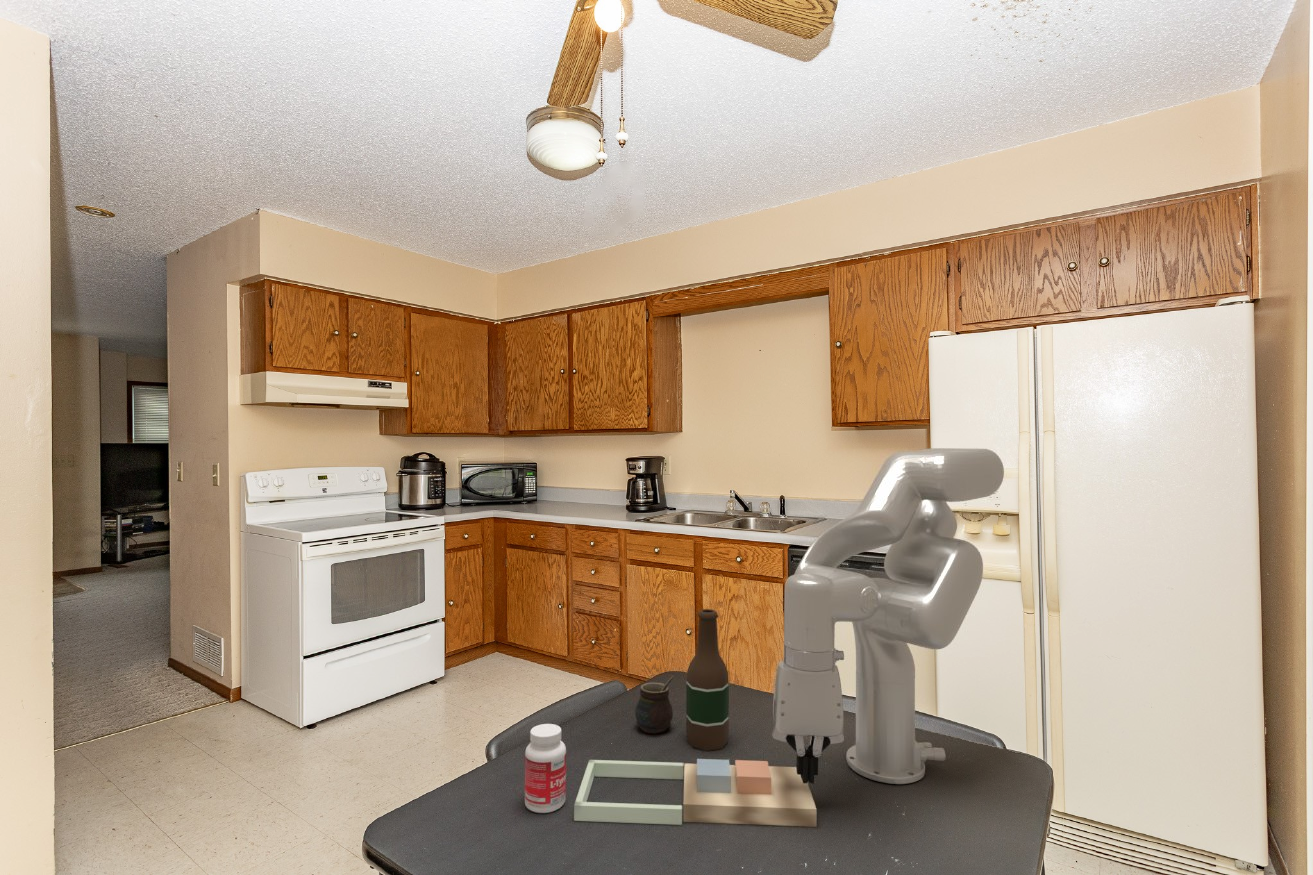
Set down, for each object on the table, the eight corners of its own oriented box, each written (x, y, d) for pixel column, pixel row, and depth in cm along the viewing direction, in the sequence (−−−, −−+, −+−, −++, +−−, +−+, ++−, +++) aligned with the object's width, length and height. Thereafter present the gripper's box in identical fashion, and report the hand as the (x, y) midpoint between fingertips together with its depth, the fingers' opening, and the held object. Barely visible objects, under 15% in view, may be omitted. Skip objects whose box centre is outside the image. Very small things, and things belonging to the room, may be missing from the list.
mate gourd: (628, 725, 125) (629, 673, 125) (662, 718, 129) (663, 667, 129) (645, 740, 119) (646, 685, 119) (680, 732, 122) (681, 679, 123)
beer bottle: (728, 733, 122) (728, 606, 122) (728, 752, 114) (729, 616, 114) (687, 731, 123) (687, 604, 123) (684, 750, 115) (685, 615, 115)
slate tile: (728, 775, 101) (728, 759, 101) (730, 792, 96) (730, 776, 96) (696, 774, 101) (697, 758, 102) (697, 791, 96) (697, 774, 97)
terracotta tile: (767, 777, 101) (767, 761, 101) (771, 794, 96) (771, 777, 96) (735, 776, 101) (735, 760, 101) (737, 793, 96) (737, 776, 96)
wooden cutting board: (802, 782, 104) (802, 767, 104) (816, 826, 92) (816, 809, 92) (684, 778, 105) (684, 763, 105) (683, 821, 93) (683, 804, 93)
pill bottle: (554, 817, 94) (554, 741, 94) (517, 810, 96) (517, 735, 96) (572, 795, 100) (573, 724, 100) (537, 789, 102) (537, 718, 102)
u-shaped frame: (683, 776, 106) (683, 762, 106) (681, 824, 92) (681, 809, 92) (589, 772, 107) (589, 759, 107) (574, 820, 93) (574, 805, 93)
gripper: (852, 651, 102) (850, 769, 101) (756, 648, 102) (755, 764, 102) (865, 667, 94) (863, 794, 94) (761, 663, 95) (759, 789, 94)
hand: (807, 778), depth 98 cm, fingers closed
